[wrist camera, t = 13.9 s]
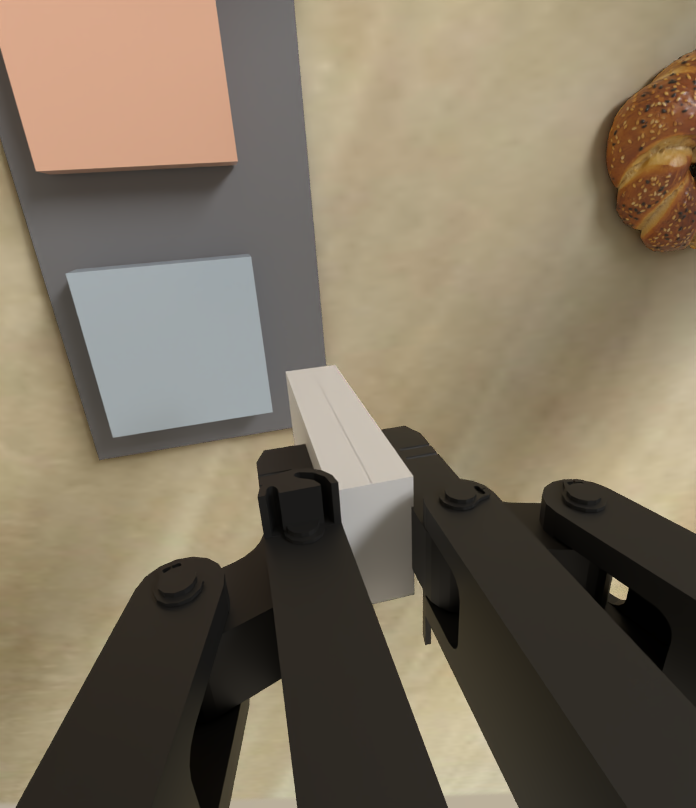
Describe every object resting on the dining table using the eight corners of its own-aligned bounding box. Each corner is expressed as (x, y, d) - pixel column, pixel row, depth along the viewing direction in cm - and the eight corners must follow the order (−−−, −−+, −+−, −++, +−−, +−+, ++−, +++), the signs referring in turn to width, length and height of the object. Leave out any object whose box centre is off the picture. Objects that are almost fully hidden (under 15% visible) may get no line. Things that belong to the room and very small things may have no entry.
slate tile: (248, 253, 24) (77, 268, 22) (251, 256, 22) (65, 273, 21) (269, 399, 27) (120, 422, 25) (272, 412, 25) (112, 437, 24)
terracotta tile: (205, -53, 19) (-16, -63, 18) (204, -80, 18) (-41, -93, 16) (236, 165, 22) (51, 174, 21) (237, 161, 21) (35, 171, 19)
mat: (-76, -128, 17) (-85, -139, 17) (282, -104, 20) (283, -113, 19) (101, 455, 26) (99, 460, 26) (328, 417, 29) (330, 421, 29)
